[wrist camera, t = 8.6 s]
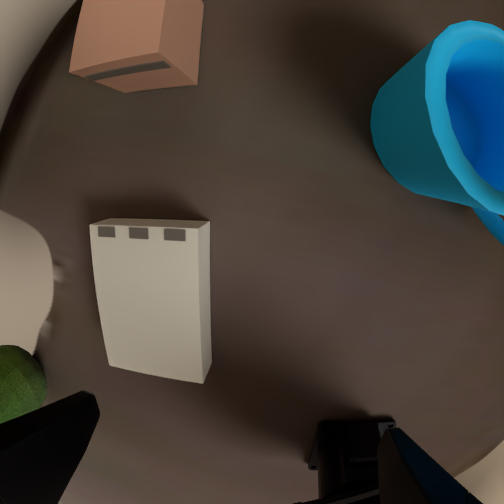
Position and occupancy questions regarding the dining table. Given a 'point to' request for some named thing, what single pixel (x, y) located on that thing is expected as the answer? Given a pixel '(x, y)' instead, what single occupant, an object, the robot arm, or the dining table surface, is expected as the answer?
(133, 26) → the tan cube
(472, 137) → the mug
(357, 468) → the robot arm
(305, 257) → the dining table surface
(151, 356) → the slab
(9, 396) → the avocado
